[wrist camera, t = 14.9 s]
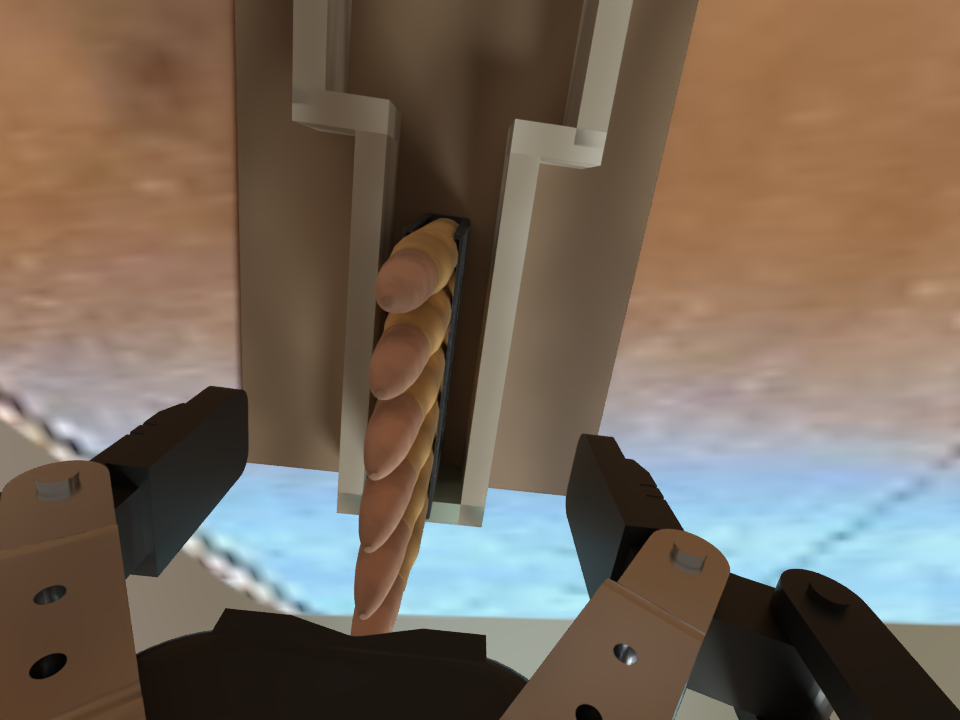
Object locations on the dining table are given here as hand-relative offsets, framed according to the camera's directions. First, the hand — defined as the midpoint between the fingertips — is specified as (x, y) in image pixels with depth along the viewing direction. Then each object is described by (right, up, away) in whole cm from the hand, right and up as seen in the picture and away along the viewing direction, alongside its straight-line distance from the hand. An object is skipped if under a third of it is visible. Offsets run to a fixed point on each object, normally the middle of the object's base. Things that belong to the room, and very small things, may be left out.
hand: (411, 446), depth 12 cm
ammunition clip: (0, +3, +10) cm, 10 cm away
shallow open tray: (+1, +11, +8) cm, 13 cm away
